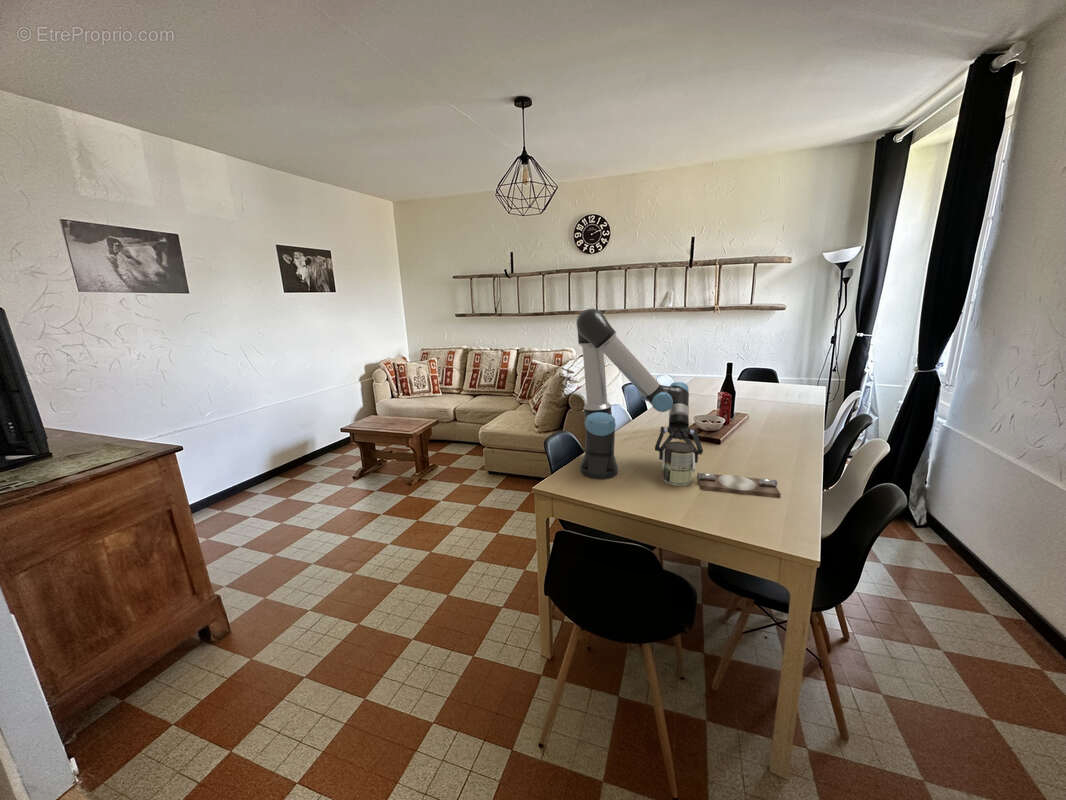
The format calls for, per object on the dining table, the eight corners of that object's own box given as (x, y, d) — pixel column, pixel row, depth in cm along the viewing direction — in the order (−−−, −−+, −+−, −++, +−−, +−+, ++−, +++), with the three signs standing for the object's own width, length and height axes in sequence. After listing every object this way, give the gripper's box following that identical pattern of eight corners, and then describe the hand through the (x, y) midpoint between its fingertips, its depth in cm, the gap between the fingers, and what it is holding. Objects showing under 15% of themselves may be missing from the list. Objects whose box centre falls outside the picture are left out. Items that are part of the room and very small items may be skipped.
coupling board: (700, 489, 150) (701, 485, 149) (697, 475, 162) (697, 471, 161) (780, 498, 143) (781, 493, 142) (770, 482, 155) (771, 478, 155)
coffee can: (657, 479, 159) (659, 445, 155) (672, 472, 165) (674, 439, 162) (681, 488, 151) (684, 452, 148) (696, 480, 157) (699, 446, 154)
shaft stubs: (699, 480, 154) (700, 474, 154) (698, 477, 157) (699, 471, 156) (776, 487, 147) (777, 481, 147) (774, 485, 150) (775, 479, 149)
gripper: (707, 423, 165) (709, 475, 154) (649, 420, 171) (646, 469, 160) (710, 414, 159) (712, 467, 148) (649, 411, 165) (647, 461, 154)
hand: (678, 468), depth 154 cm, fingers closed on coffee can, 10 cm apart
